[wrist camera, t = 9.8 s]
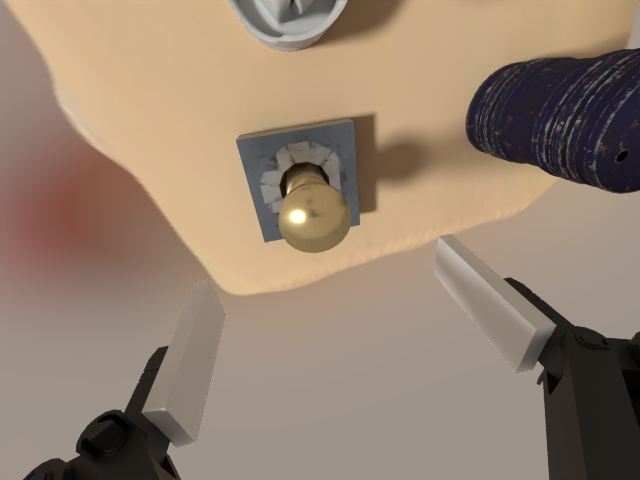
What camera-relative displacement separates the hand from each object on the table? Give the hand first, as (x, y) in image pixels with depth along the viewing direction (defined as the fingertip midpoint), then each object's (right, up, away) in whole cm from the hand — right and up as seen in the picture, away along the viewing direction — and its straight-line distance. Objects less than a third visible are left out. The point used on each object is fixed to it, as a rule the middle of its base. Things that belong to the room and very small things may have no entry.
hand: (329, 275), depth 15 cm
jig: (-3, +10, +17) cm, 19 cm away
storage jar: (+21, +18, +16) cm, 32 cm away
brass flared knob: (-2, +10, +17) cm, 19 cm away
